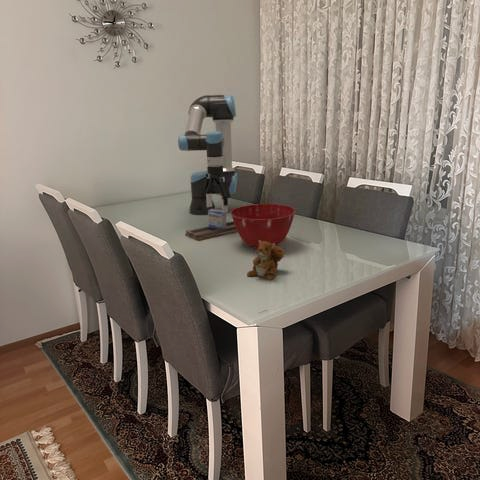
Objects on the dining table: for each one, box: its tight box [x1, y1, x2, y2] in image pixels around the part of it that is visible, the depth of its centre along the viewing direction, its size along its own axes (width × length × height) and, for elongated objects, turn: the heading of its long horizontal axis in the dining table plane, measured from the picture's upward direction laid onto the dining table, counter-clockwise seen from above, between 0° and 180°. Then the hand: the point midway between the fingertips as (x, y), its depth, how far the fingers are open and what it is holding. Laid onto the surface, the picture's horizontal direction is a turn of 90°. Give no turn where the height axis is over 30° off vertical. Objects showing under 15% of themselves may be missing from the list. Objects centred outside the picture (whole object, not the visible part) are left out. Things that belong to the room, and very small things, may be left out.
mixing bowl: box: [230, 203, 296, 249], centre depth 201 cm, size 28×28×16 cm
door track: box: [184, 220, 238, 242], centre depth 223 cm, size 12×30×2 cm, turn 126°
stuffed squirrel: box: [246, 240, 285, 281], centre depth 167 cm, size 10×14×13 cm
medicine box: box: [207, 208, 227, 229], centre depth 221 cm, size 8×4×9 cm, turn 62°
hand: (217, 209), depth 220 cm, fingers open, 13 cm apart
